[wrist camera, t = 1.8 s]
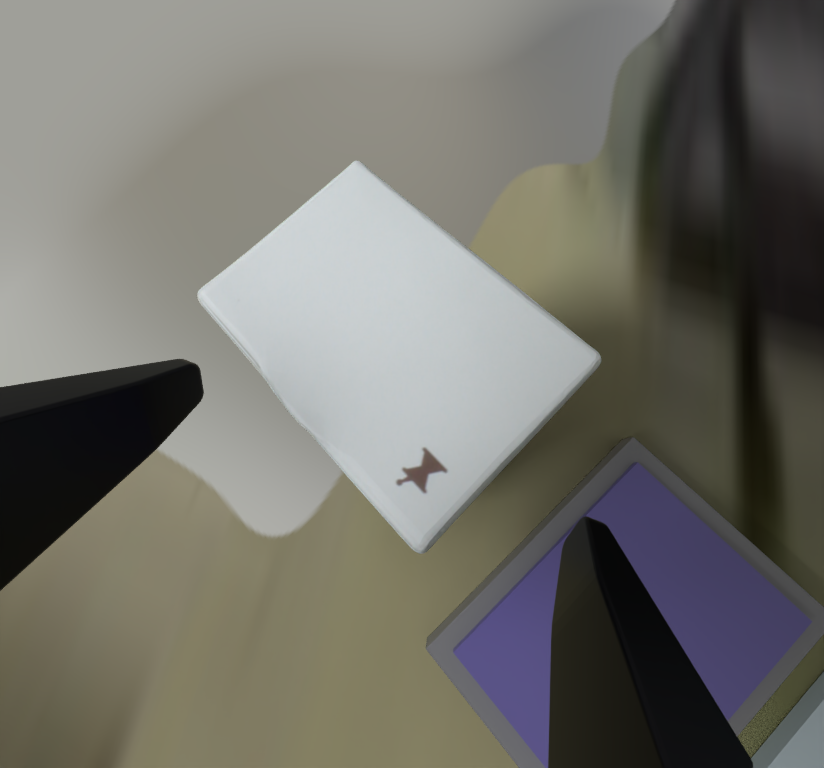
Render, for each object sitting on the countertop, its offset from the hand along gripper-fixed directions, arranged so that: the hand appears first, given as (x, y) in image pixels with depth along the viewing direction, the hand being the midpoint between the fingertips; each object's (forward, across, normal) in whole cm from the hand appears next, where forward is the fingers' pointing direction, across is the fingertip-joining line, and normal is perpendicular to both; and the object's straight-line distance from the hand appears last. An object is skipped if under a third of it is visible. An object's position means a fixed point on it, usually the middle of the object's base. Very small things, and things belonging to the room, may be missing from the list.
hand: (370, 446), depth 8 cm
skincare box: (+8, 0, +6) cm, 10 cm away
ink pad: (+4, -10, +9) cm, 14 cm away
